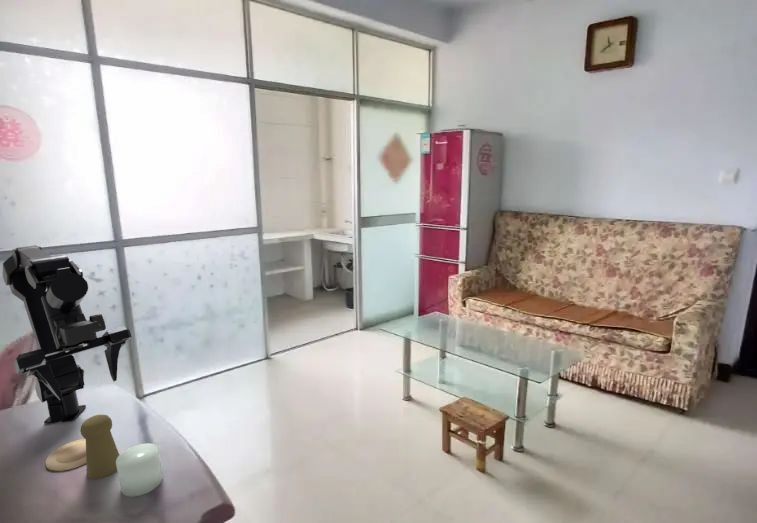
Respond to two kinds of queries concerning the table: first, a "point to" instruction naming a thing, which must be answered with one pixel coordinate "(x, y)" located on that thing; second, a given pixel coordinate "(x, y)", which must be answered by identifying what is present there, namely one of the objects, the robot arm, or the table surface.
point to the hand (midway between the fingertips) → (89, 390)
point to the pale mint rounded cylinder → (139, 469)
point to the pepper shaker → (99, 446)
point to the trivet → (68, 456)
